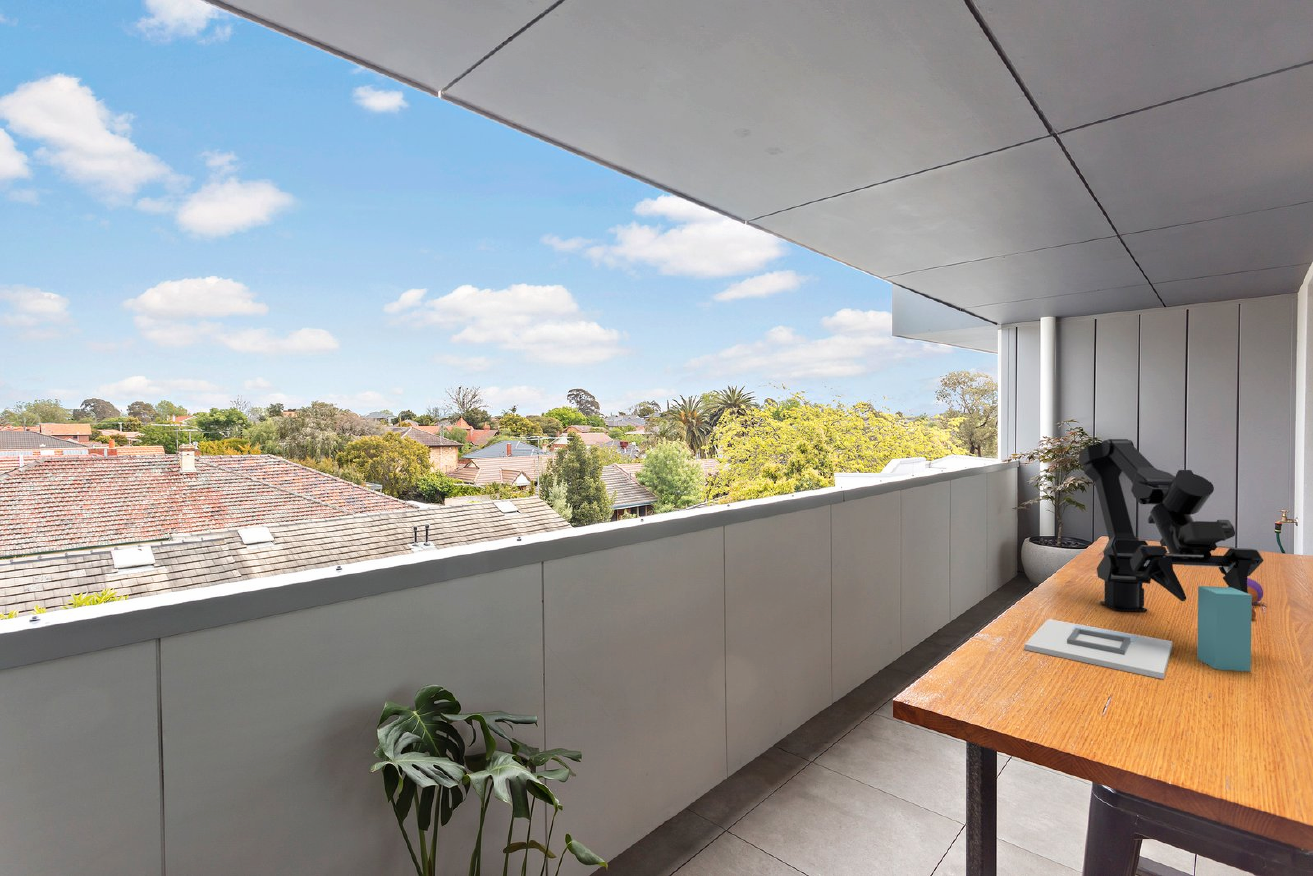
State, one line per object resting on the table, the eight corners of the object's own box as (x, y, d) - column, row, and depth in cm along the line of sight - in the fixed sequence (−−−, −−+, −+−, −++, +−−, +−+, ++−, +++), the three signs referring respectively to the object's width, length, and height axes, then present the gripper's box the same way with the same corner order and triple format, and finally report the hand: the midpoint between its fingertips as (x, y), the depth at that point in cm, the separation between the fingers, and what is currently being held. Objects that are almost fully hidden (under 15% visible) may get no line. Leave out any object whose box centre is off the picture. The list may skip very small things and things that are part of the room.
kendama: (1222, 599, 133) (1225, 575, 148) (1229, 626, 133) (1231, 599, 147) (1260, 599, 129) (1259, 574, 144) (1268, 627, 129) (1266, 599, 143)
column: (1197, 658, 110) (1198, 585, 110) (1230, 660, 109) (1231, 587, 109) (1215, 669, 105) (1216, 593, 105) (1250, 672, 104) (1251, 595, 104)
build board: (1048, 623, 129) (1048, 615, 129) (1172, 646, 116) (1172, 637, 116) (1024, 649, 115) (1024, 639, 115) (1163, 679, 101) (1163, 668, 101)
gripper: (1138, 502, 116) (1172, 574, 106) (1256, 504, 112) (1304, 579, 101) (1117, 537, 124) (1146, 607, 113) (1227, 540, 120) (1268, 613, 109)
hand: (1214, 601), depth 109 cm, fingers open, 9 cm apart
